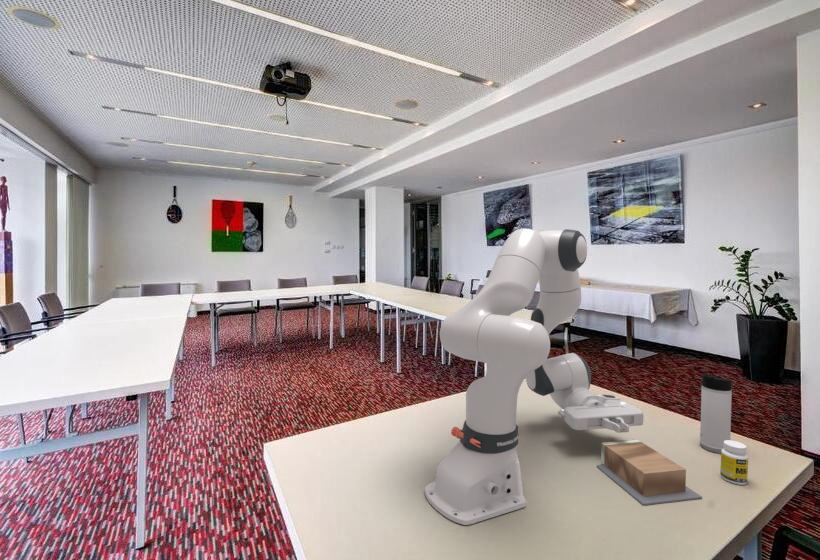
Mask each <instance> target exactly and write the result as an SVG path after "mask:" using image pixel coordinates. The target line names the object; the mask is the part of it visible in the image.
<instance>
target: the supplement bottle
mask: <svg viewBox="0 0 820 560" xmlns="http://www.w3.org/2000/svg"><path fill="white" fill-rule="evenodd" d="M723 446H724V448H723V449H722V450H721V454H720V474H719V475H720V477H721V478H722V479H723V480H725V481H726V482H729V483H731V484H735V485H739V486H743V485H746V484H748V473H749V471H748V470H749V456H748V454H747V452H748V451H747V445H745V443H742V442H739V441H736V440H731V439H730V440H725V441H724V445H723Z"/></svg>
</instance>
